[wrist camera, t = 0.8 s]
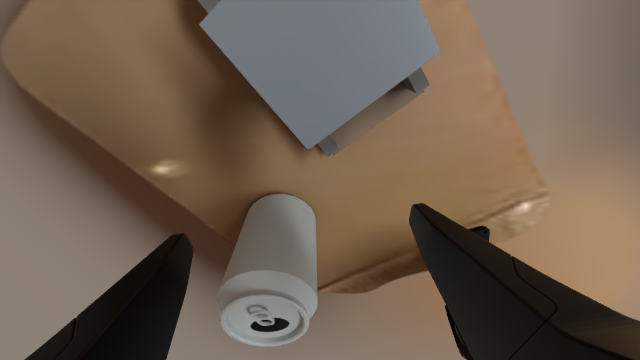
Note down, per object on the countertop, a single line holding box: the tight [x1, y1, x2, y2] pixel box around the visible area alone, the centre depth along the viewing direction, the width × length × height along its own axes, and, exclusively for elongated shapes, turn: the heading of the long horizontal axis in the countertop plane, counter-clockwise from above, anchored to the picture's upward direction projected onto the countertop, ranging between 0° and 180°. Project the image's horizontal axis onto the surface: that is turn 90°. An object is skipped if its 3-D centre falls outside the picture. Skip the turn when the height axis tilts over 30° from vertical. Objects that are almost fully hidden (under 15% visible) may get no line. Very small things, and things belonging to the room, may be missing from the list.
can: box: [217, 194, 317, 347], centre depth 22 cm, size 8×8×12 cm
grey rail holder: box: [198, 0, 429, 156], centre depth 17 cm, size 16×9×4 cm, turn 38°
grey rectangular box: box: [199, 0, 441, 150], centre depth 13 cm, size 6×6×10 cm
